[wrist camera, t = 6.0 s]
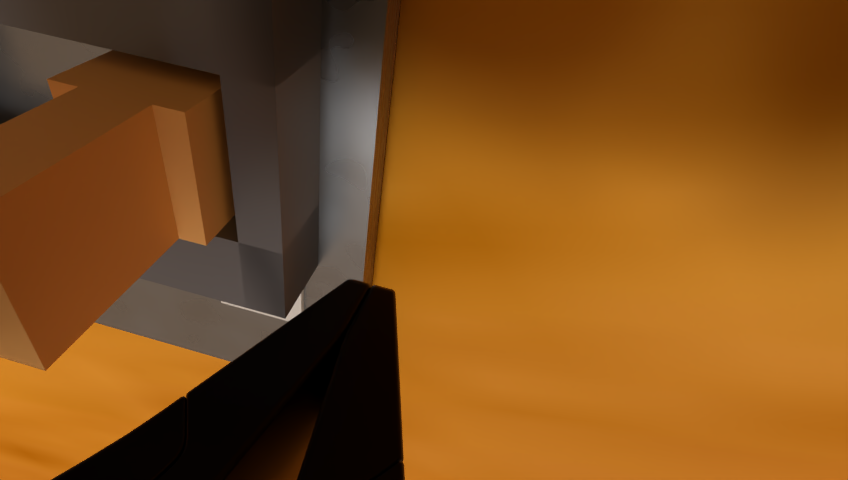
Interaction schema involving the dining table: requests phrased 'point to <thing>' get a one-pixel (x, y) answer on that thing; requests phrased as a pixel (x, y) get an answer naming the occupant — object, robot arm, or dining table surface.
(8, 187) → the toggle
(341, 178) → the panel
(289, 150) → the box
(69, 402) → the dining table surface
